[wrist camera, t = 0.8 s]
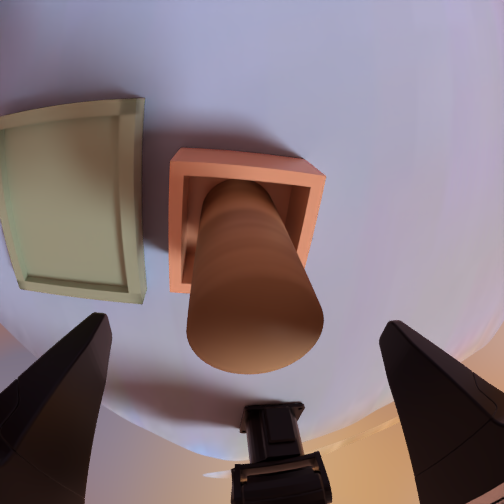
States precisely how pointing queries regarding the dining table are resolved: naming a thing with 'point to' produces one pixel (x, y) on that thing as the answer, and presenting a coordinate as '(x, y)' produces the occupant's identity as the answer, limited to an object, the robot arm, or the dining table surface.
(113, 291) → the tray
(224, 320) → the dowel
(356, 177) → the dining table surface
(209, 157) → the holder
